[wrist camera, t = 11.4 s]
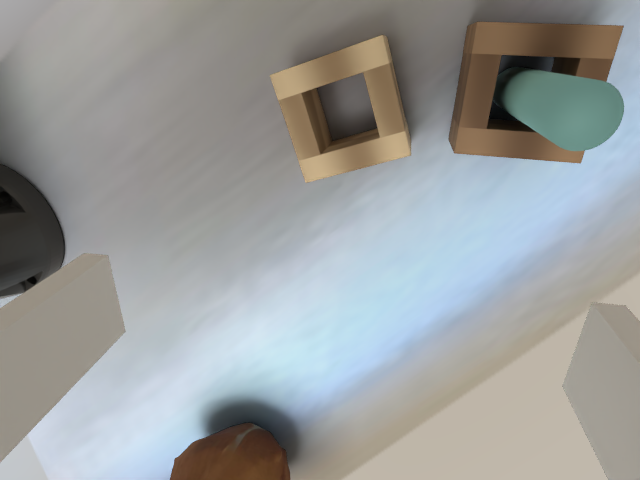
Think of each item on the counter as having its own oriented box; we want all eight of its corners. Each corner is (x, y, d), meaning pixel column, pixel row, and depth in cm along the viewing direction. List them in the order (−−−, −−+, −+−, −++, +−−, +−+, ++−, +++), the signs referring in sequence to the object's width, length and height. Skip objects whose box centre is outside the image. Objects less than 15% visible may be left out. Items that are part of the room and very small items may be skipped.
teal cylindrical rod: (487, 108, 31) (537, 147, 19) (496, 65, 30) (557, 77, 17) (529, 111, 31) (609, 154, 18) (540, 68, 29) (635, 82, 17)
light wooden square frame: (319, 166, 36) (305, 182, 31) (288, 71, 33) (269, 75, 28) (411, 141, 33) (410, 155, 29) (387, 36, 30) (382, 34, 26)
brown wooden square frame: (448, 139, 33) (454, 153, 28) (467, 25, 29) (477, 21, 25) (556, 147, 31) (580, 163, 27) (589, 29, 28) (623, 25, 23)
